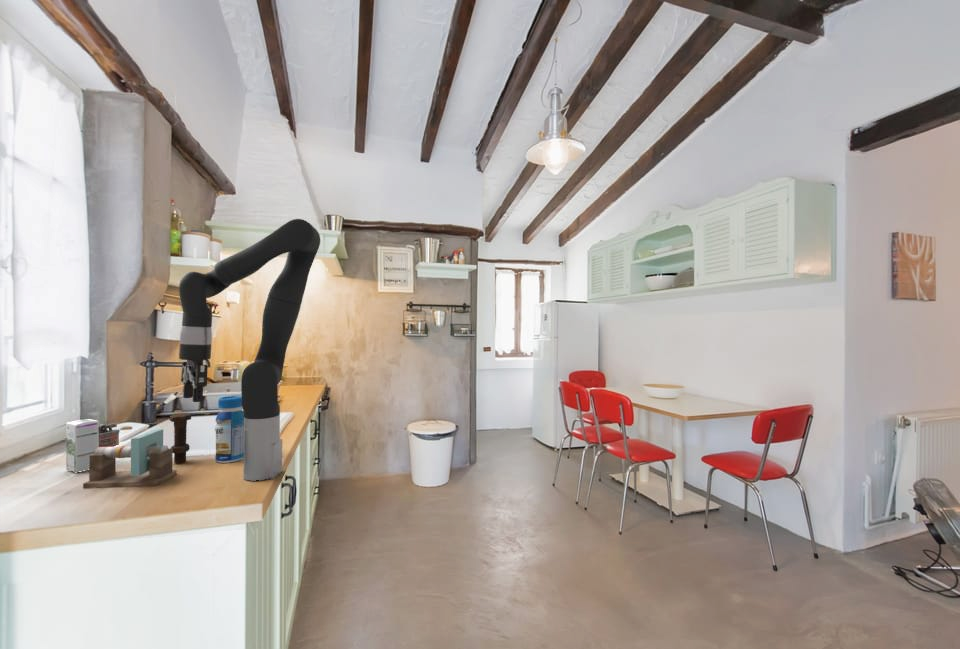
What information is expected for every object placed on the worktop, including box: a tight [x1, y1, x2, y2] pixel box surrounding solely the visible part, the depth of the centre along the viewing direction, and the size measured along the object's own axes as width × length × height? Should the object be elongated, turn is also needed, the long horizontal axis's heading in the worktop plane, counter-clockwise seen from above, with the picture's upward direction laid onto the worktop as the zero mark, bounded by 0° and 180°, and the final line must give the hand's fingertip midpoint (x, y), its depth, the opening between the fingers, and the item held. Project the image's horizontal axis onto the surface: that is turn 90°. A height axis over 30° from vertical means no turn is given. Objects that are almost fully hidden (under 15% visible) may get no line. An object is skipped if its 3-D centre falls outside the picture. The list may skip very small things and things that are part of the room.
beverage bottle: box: [214, 395, 244, 464], centre depth 136 cm, size 8×8×20 cm
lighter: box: [98, 422, 120, 447], centre depth 140 cm, size 8×3×10 cm, turn 148°
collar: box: [130, 428, 164, 476], centre depth 117 cm, size 2×10×10 cm, turn 6°
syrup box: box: [65, 418, 99, 473], centre depth 126 cm, size 6×6×14 cm
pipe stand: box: [82, 445, 178, 489], centre depth 117 cm, size 18×9×10 cm, turn 96°
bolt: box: [169, 412, 192, 465], centre depth 132 cm, size 6×5×15 cm
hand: (192, 399), depth 120 cm, fingers open, 8 cm apart
